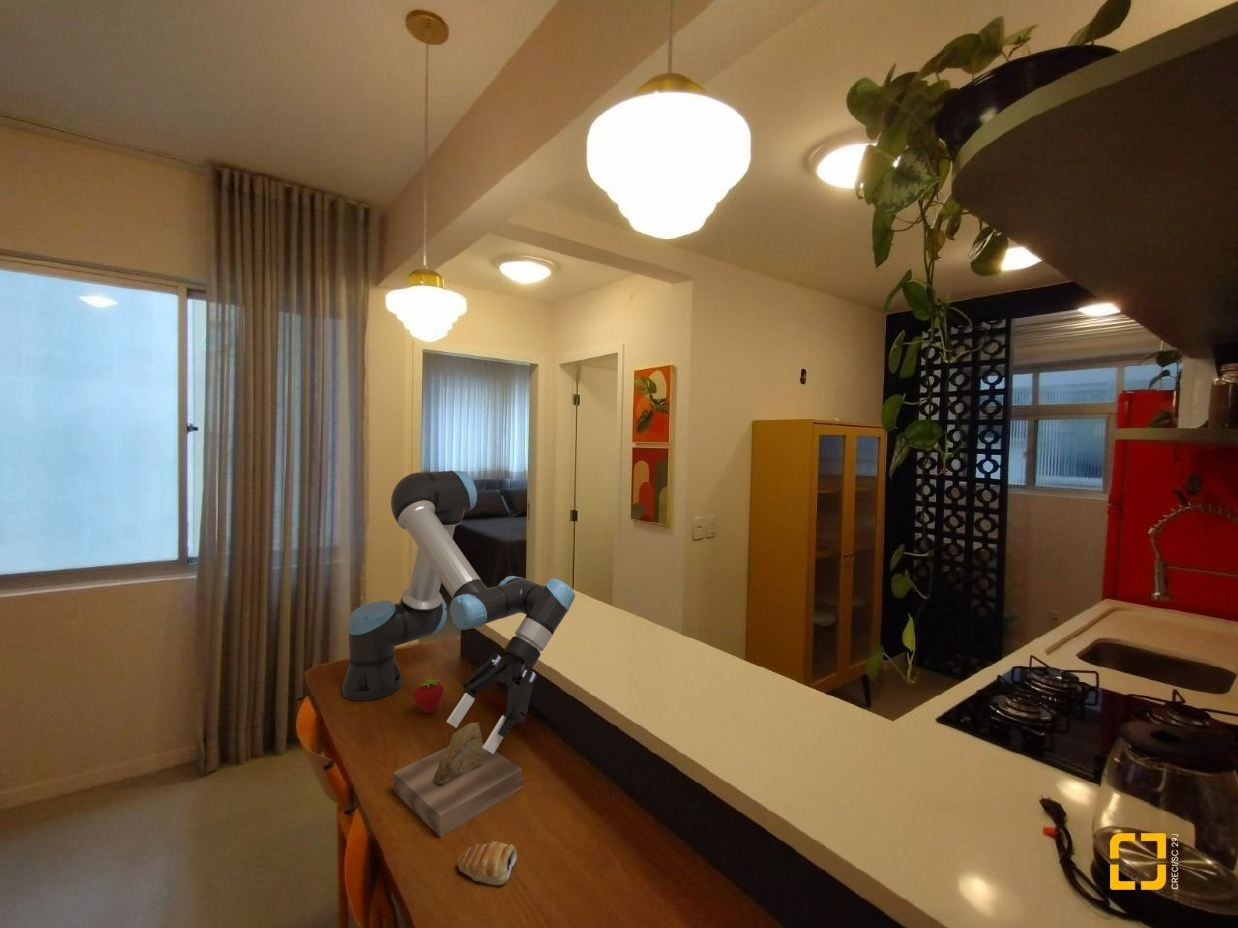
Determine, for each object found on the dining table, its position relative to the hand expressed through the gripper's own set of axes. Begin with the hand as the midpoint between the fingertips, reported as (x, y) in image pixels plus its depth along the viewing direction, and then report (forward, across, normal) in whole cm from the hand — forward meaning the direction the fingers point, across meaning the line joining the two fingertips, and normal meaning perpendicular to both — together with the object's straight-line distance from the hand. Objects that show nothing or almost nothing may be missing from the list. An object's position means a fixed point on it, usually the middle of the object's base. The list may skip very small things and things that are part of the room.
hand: (468, 737), depth 107 cm
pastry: (+14, -21, -1) cm, 25 cm away
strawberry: (+1, +32, -13) cm, 35 cm away
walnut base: (+9, 0, -6) cm, 10 cm away
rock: (+6, 0, -3) cm, 7 cm away
